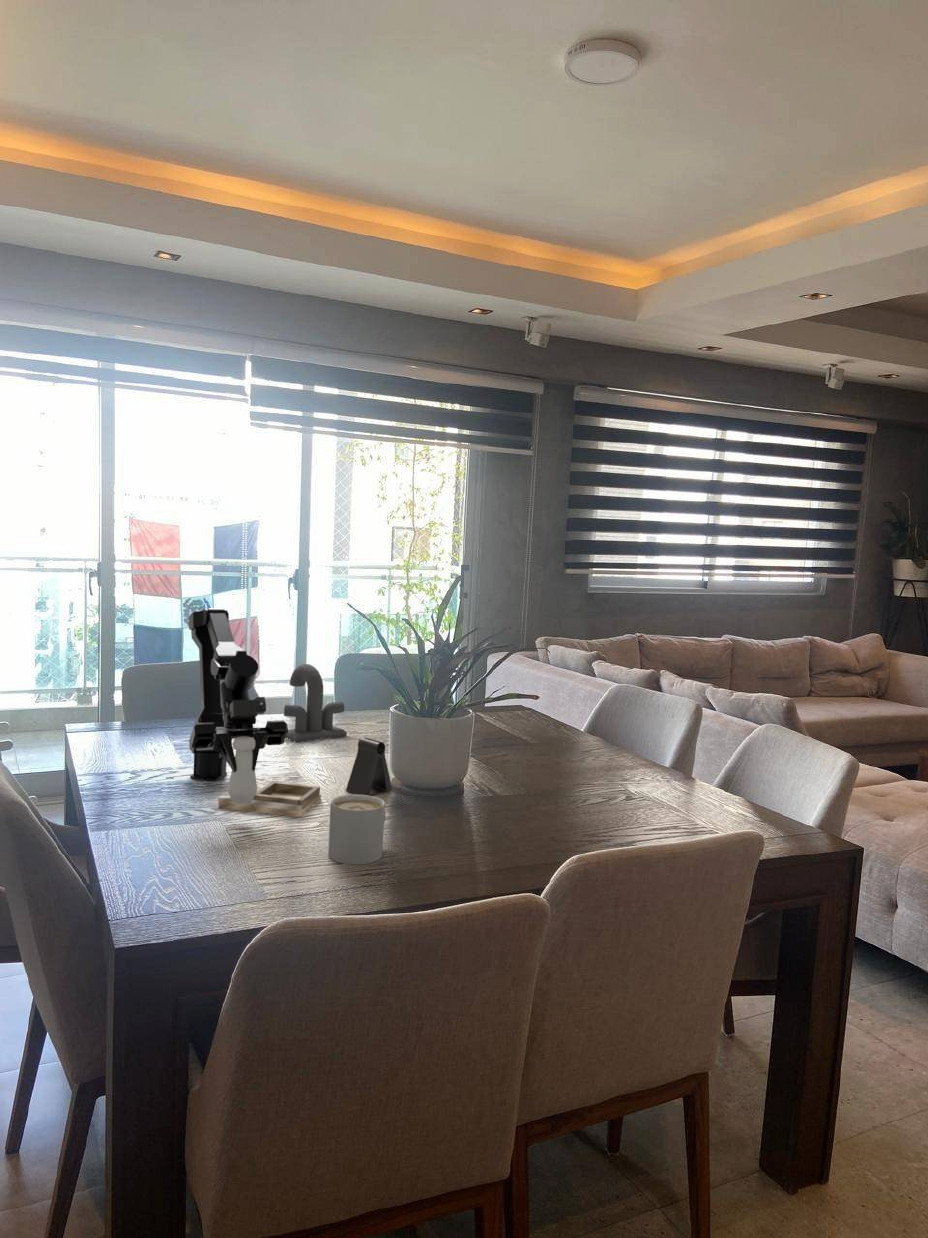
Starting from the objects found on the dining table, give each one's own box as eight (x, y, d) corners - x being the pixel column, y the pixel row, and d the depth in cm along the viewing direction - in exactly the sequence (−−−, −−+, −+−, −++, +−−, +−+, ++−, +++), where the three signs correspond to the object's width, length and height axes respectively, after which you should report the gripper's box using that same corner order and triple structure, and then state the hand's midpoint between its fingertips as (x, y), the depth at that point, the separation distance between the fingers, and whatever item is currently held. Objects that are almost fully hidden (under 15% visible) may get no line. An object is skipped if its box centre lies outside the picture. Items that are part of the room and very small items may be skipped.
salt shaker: (229, 796, 190) (232, 733, 189) (258, 797, 191) (261, 734, 190) (224, 804, 185) (227, 740, 183) (254, 806, 185) (257, 741, 184)
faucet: (317, 725, 280) (320, 659, 278) (348, 735, 269) (351, 667, 267) (264, 731, 268) (267, 662, 266) (294, 742, 256) (297, 670, 254)
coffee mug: (353, 868, 166) (356, 814, 165) (317, 853, 173) (319, 800, 172) (406, 851, 176) (409, 800, 175) (369, 838, 183) (372, 788, 182)
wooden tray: (218, 807, 196) (218, 792, 196) (243, 790, 209) (244, 776, 208) (299, 817, 193) (300, 802, 192) (320, 799, 206) (321, 785, 205)
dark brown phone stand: (363, 798, 209) (366, 745, 208) (345, 791, 213) (348, 740, 212) (392, 791, 216) (395, 740, 215) (374, 785, 220) (377, 735, 219)
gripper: (195, 683, 185) (201, 752, 176) (288, 682, 193) (299, 748, 184) (188, 713, 193) (194, 780, 184) (277, 711, 201) (287, 775, 192)
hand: (244, 770), depth 186 cm, fingers closed on salt shaker, 3 cm apart
